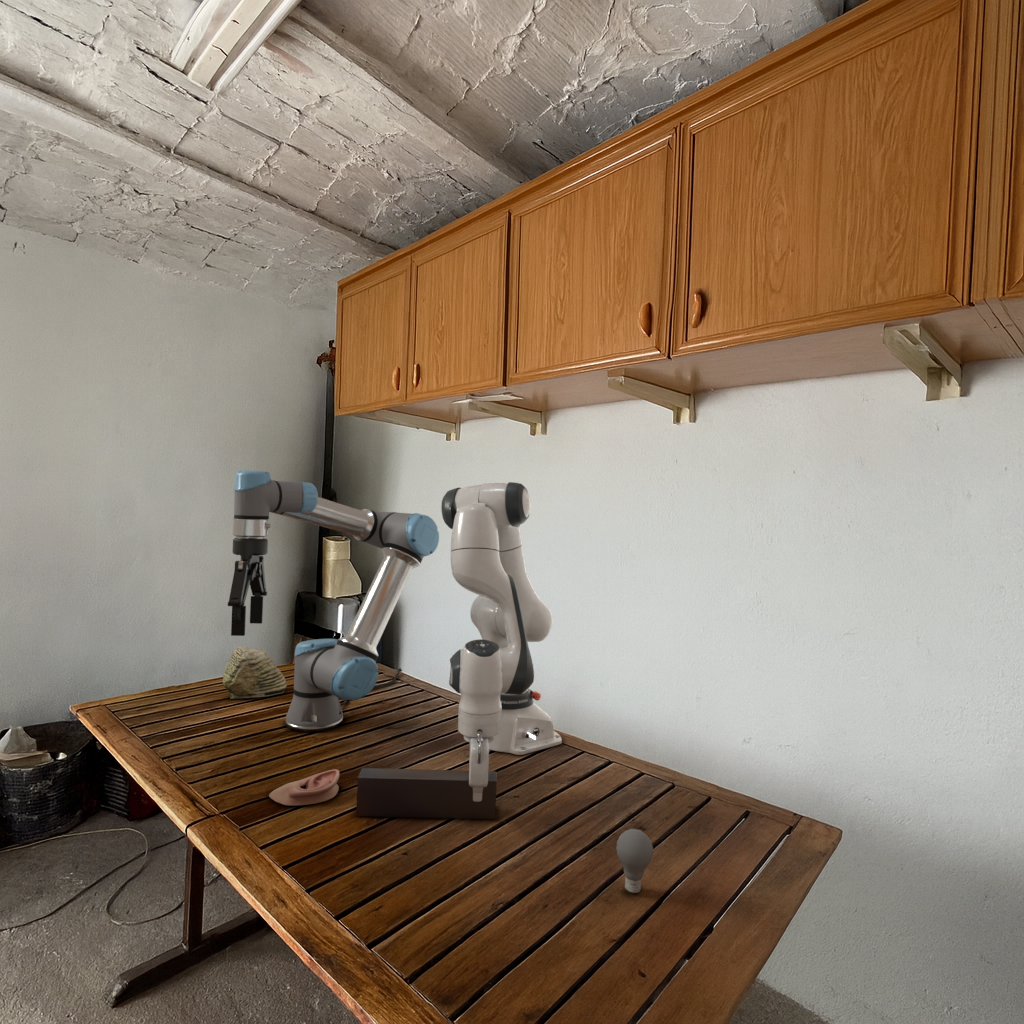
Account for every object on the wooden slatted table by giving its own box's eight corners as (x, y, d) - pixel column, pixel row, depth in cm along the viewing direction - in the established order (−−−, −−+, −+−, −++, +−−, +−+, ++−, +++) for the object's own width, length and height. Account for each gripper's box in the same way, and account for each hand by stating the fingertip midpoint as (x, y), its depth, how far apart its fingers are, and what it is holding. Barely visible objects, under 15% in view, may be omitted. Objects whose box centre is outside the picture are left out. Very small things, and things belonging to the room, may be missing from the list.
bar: (356, 816, 126) (357, 777, 126) (360, 805, 131) (362, 767, 131) (495, 819, 127) (496, 781, 127) (494, 808, 132) (496, 771, 132)
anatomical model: (261, 782, 130) (291, 760, 141) (260, 801, 130) (290, 778, 141) (320, 791, 127) (346, 768, 139) (319, 811, 127) (345, 786, 139)
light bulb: (610, 879, 108) (613, 822, 108) (644, 879, 109) (647, 822, 109) (619, 902, 102) (622, 840, 102) (655, 901, 103) (658, 840, 103)
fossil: (218, 695, 195) (220, 647, 195) (278, 685, 208) (279, 640, 207) (228, 703, 189) (230, 653, 188) (289, 692, 201) (290, 645, 201)
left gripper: (251, 541, 134) (247, 641, 134) (281, 534, 159) (278, 619, 159) (214, 540, 133) (210, 640, 134) (250, 533, 158) (247, 618, 158)
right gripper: (496, 742, 119) (494, 814, 119) (493, 705, 139) (491, 767, 140) (463, 741, 119) (460, 814, 119) (464, 705, 139) (462, 767, 139)
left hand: (247, 629), depth 146 cm, fingers open, 13 cm apart
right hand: (477, 788), depth 130 cm, fingers open, 8 cm apart
